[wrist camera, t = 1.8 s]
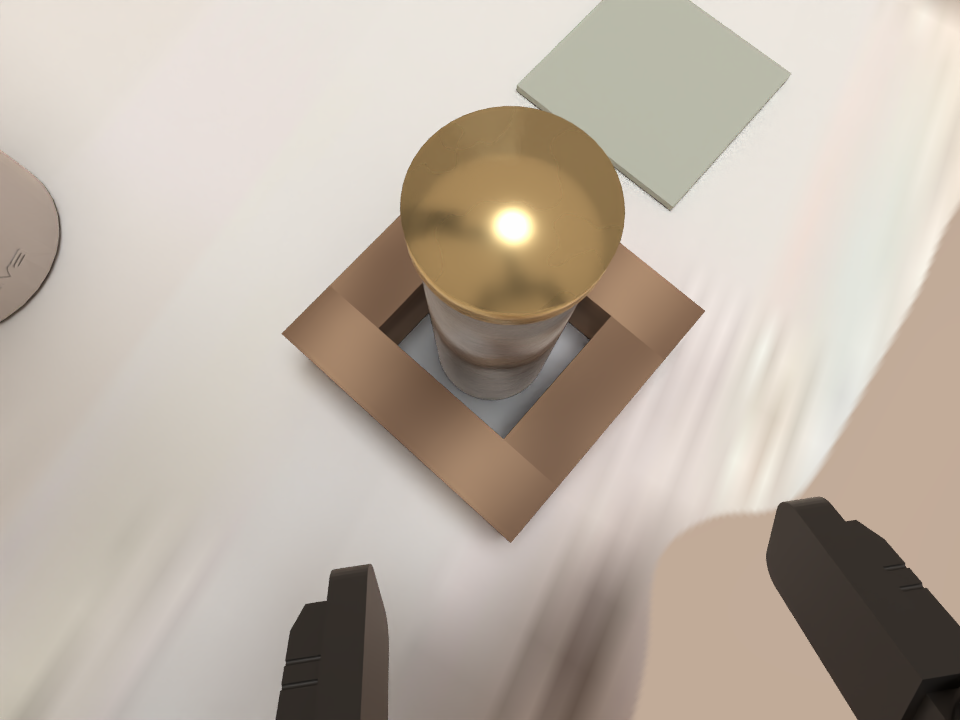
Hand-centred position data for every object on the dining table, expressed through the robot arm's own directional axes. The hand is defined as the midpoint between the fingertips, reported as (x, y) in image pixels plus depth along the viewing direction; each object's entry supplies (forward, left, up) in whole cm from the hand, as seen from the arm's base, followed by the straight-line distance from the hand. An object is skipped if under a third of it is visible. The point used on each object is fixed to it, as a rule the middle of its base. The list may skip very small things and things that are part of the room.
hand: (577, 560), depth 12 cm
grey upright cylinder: (-6, +5, -15) cm, 17 cm away
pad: (-9, +21, -15) cm, 28 cm away
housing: (-6, +5, -15) cm, 17 cm away
